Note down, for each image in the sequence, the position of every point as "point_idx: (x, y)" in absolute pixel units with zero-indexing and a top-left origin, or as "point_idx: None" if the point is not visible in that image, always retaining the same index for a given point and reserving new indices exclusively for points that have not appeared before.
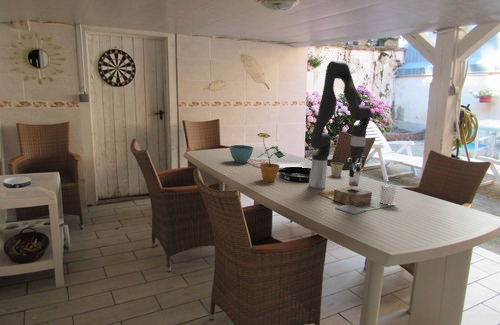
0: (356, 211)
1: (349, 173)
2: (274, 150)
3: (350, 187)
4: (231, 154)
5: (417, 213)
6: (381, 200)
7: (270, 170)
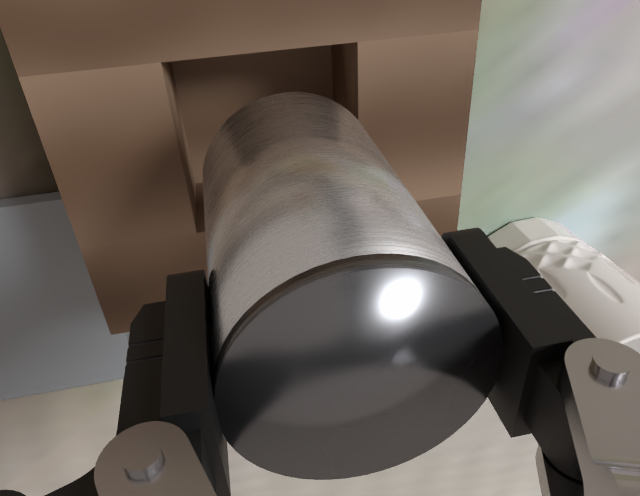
0: (6, 386)
1: (128, 358)
2: None
3: None
4: None
5: (461, 462)
6: None
7: None
